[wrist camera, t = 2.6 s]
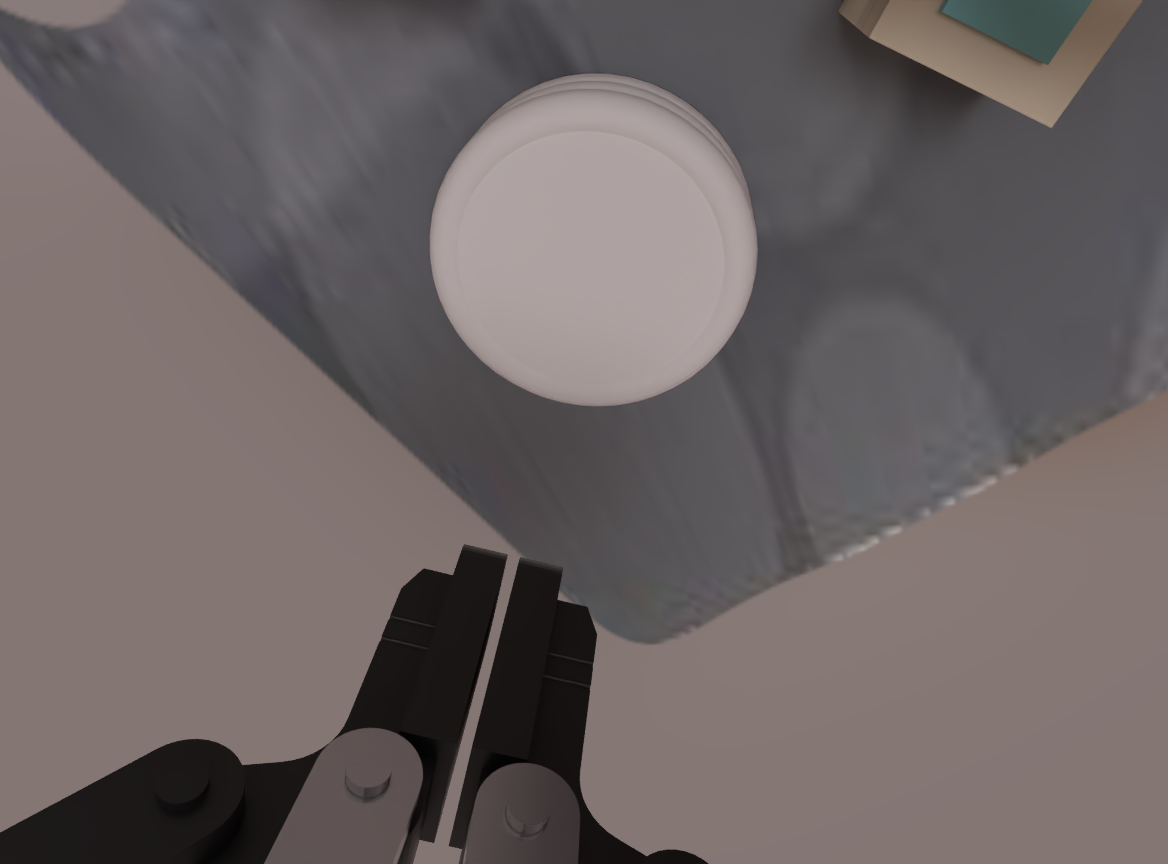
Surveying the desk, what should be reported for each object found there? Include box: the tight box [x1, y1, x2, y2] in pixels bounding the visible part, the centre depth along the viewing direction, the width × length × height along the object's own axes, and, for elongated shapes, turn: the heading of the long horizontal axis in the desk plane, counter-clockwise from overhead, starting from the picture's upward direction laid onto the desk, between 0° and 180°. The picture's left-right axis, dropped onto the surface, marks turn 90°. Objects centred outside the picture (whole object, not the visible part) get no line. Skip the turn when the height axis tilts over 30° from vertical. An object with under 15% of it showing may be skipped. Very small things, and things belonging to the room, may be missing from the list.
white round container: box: [430, 74, 758, 406], centre depth 27 cm, size 10×10×4 cm
